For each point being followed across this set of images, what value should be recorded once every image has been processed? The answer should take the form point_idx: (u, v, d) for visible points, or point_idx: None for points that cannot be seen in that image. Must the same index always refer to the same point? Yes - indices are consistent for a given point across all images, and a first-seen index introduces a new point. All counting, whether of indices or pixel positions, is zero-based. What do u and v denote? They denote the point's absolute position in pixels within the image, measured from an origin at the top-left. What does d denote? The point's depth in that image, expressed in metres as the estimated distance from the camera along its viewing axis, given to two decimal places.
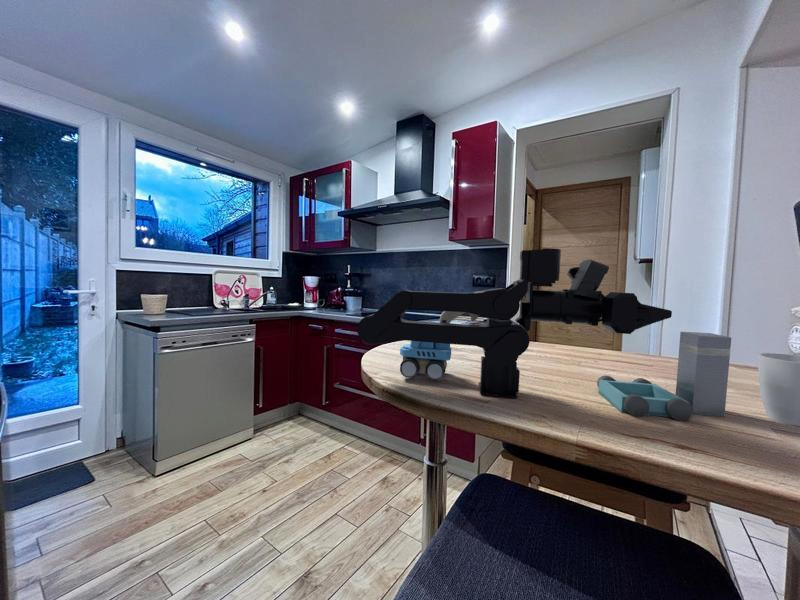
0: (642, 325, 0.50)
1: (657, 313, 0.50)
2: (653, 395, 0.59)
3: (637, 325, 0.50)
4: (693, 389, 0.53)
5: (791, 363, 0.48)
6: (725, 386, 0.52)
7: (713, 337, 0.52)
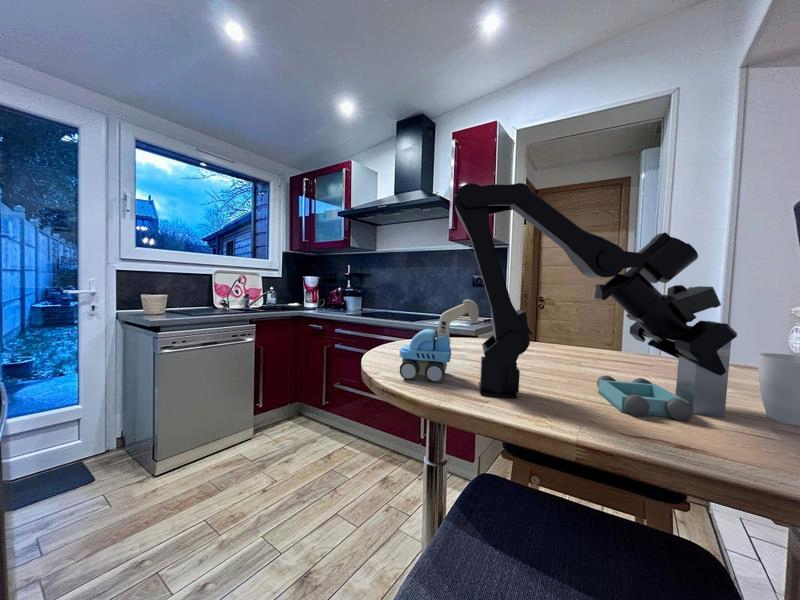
0: (697, 362, 0.51)
1: (715, 364, 0.51)
2: (653, 395, 0.59)
3: (694, 358, 0.51)
4: (693, 389, 0.53)
5: (792, 363, 0.48)
6: (725, 386, 0.52)
7: None
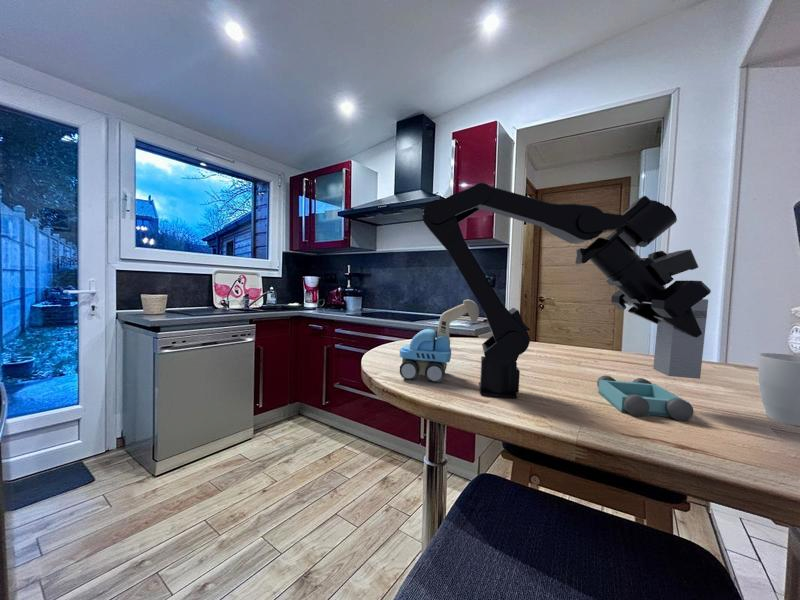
0: (673, 323, 0.51)
1: (691, 325, 0.51)
2: (653, 395, 0.59)
3: (670, 319, 0.51)
4: (669, 351, 0.53)
5: (791, 363, 0.48)
6: (701, 348, 0.52)
7: None
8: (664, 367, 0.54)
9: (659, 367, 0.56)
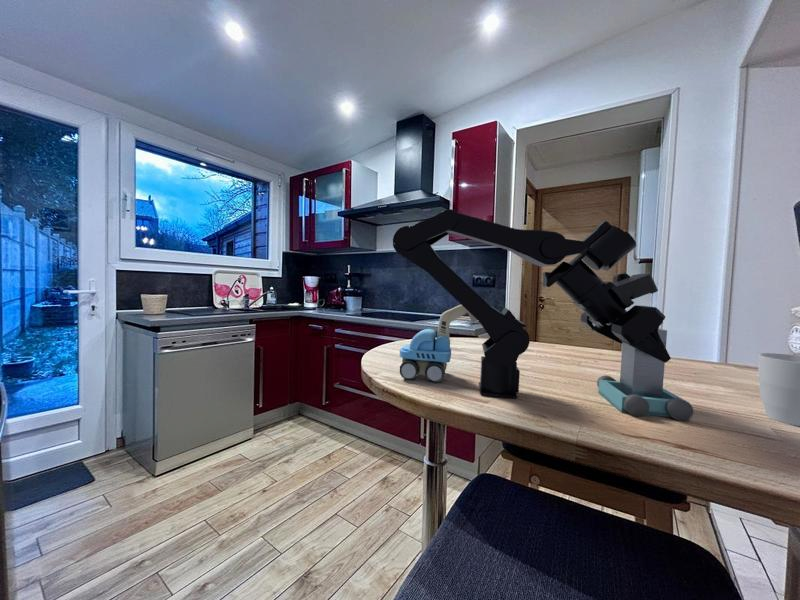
0: (641, 348, 0.50)
1: (660, 350, 0.50)
2: None
3: (637, 345, 0.50)
4: (631, 381, 0.55)
5: (792, 363, 0.48)
6: (662, 377, 0.53)
7: None
8: (628, 395, 0.56)
9: None
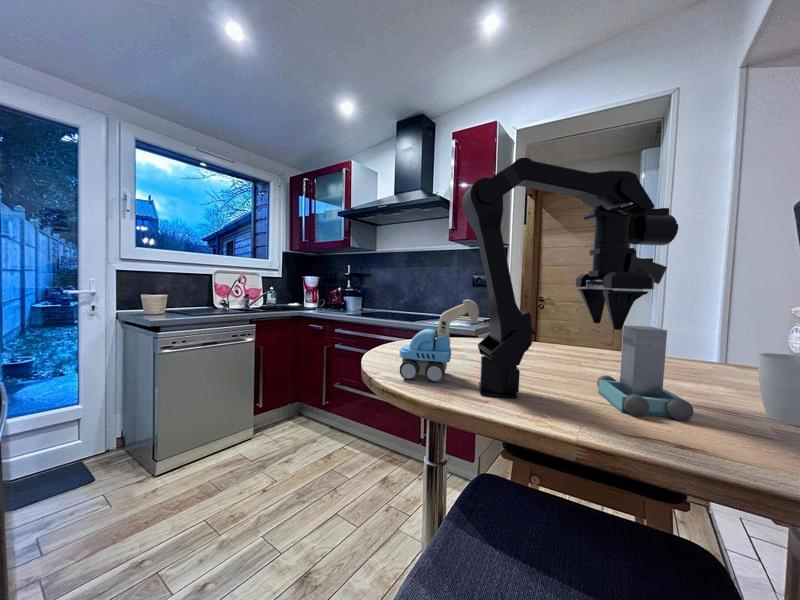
0: (610, 303, 0.55)
1: (620, 317, 0.56)
2: None
3: (611, 299, 0.55)
4: (631, 381, 0.55)
5: (792, 363, 0.48)
6: (662, 377, 0.53)
7: (650, 330, 0.53)
8: (628, 395, 0.56)
9: None
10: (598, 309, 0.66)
